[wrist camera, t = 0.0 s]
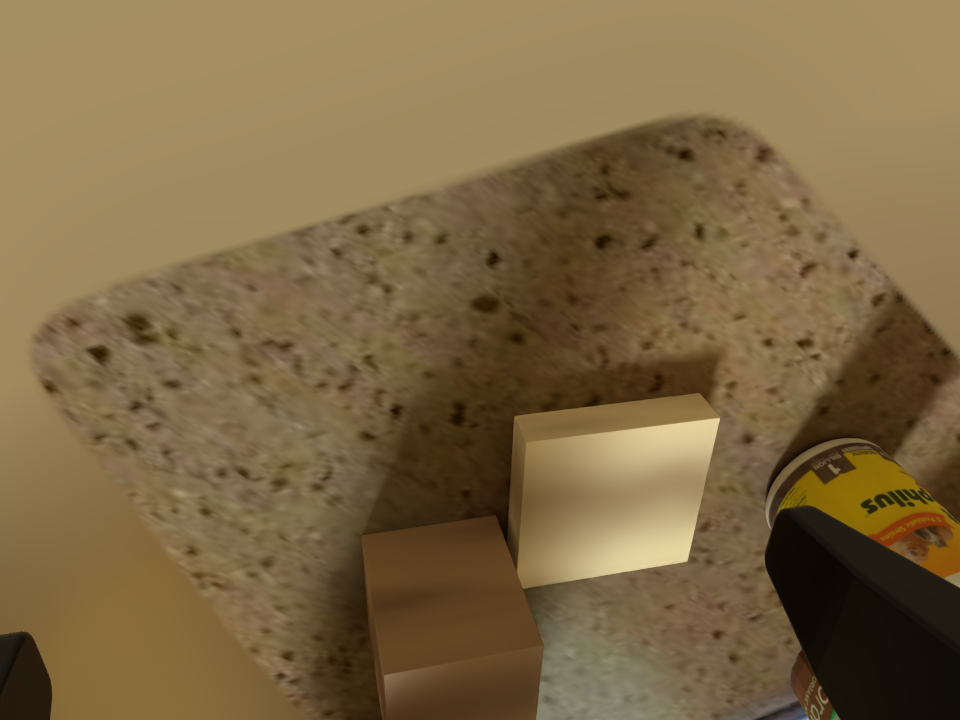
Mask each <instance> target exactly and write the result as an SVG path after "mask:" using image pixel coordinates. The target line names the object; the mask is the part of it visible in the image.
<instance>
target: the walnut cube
mask: <svg viewBox="0 0 960 720" xmlns="http://www.w3.org/2000/svg"><path fill="white" fill-rule="evenodd" d="M362 548H363V561H364V575H365V588H366V601H367V615H368V628H369V635H370V641H371V648H372V655H373V661H374V668H375V675H376V681H377V688H378V694H379V701H380V708H381V714H382V720H536V714H537V704H538V695H539V685H540V675H541V665H542V656H543V646H544V645H543V642H542V640H541V637H540V634H539V631H538V629H537V626H536V623H535V621H534V618H533V615H532V612H531V610H530V607H529V604H528V601H527V599H526V596H525V593H524V591H523V588H522V585H521V582H520V580H519V577H518V574H517V572H516V569H515V566H514V563H513V561H512V558H511V555H510V552H509V550H508V547H507V544H506V542H505V539H504V536H503V533H502V531H501V528H500V525H499V522H498V520H497V517H496V515H493V516H486V517H479V518H473V519H466V520H460V521H453V522H446V523H440V524H433V525H427V526H420V527H414V528H407V529H400V530H394V531H387V532H381V533H374V534H367V535H362Z"/></svg>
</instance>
